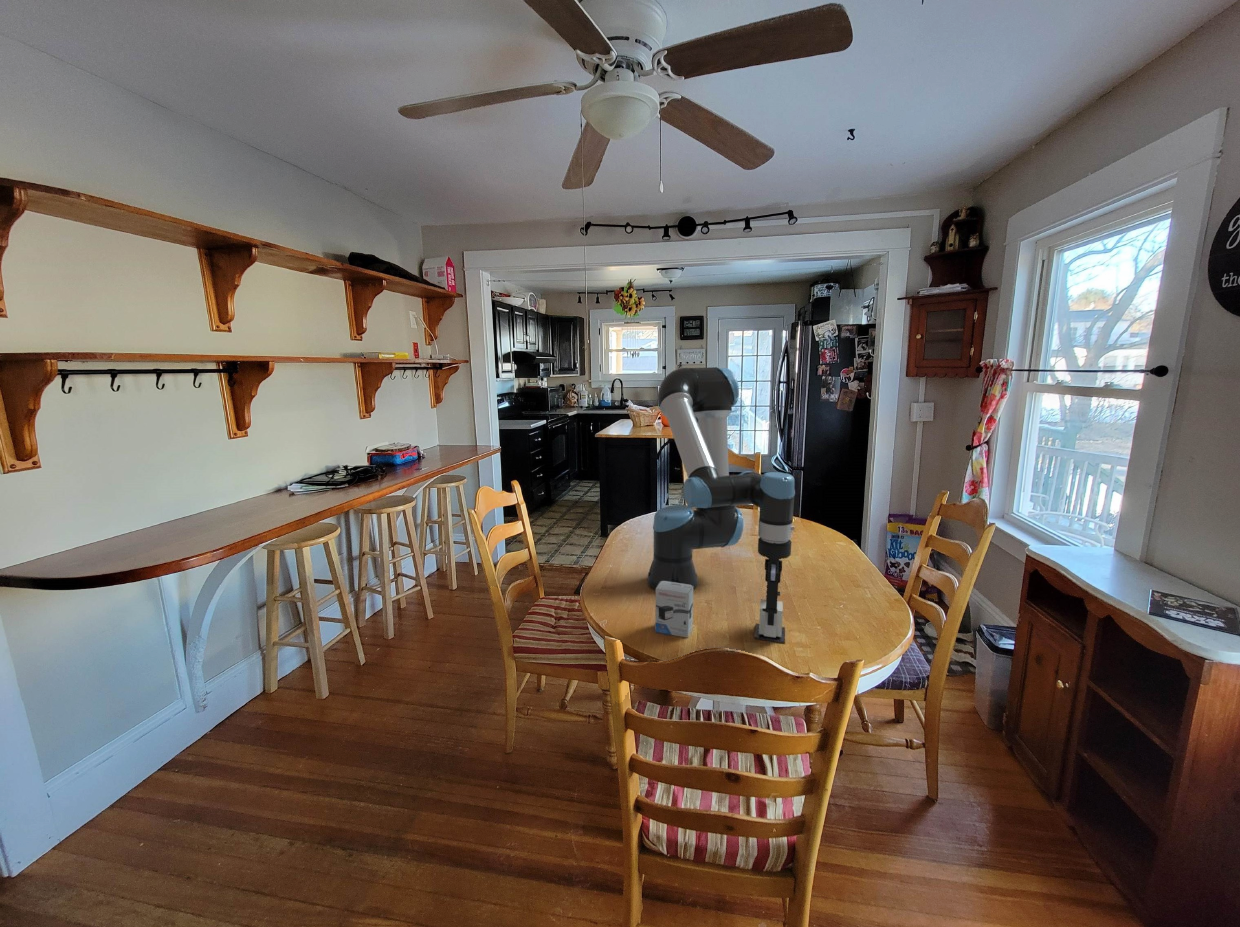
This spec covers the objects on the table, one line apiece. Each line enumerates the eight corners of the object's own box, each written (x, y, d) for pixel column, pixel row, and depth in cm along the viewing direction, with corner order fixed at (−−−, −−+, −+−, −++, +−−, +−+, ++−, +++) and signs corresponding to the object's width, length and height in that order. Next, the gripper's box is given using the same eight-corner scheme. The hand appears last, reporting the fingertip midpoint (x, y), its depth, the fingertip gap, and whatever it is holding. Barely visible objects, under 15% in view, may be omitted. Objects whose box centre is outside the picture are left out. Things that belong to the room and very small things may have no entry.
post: (754, 638, 122) (755, 611, 121) (755, 625, 129) (757, 599, 128) (784, 643, 120) (786, 615, 119) (784, 629, 127) (786, 602, 126)
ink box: (654, 632, 126) (654, 587, 124) (660, 623, 130) (660, 580, 128) (688, 638, 123) (689, 593, 121) (692, 629, 127) (693, 584, 125)
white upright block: (758, 633, 123) (759, 608, 121) (759, 623, 128) (760, 599, 126) (781, 636, 121) (782, 611, 120) (781, 626, 126) (782, 601, 125)
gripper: (792, 554, 110) (786, 651, 114) (790, 527, 128) (786, 611, 132) (756, 551, 112) (752, 646, 116) (760, 524, 130) (756, 607, 135)
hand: (770, 627), depth 124 cm, fingers open, 7 cm apart
